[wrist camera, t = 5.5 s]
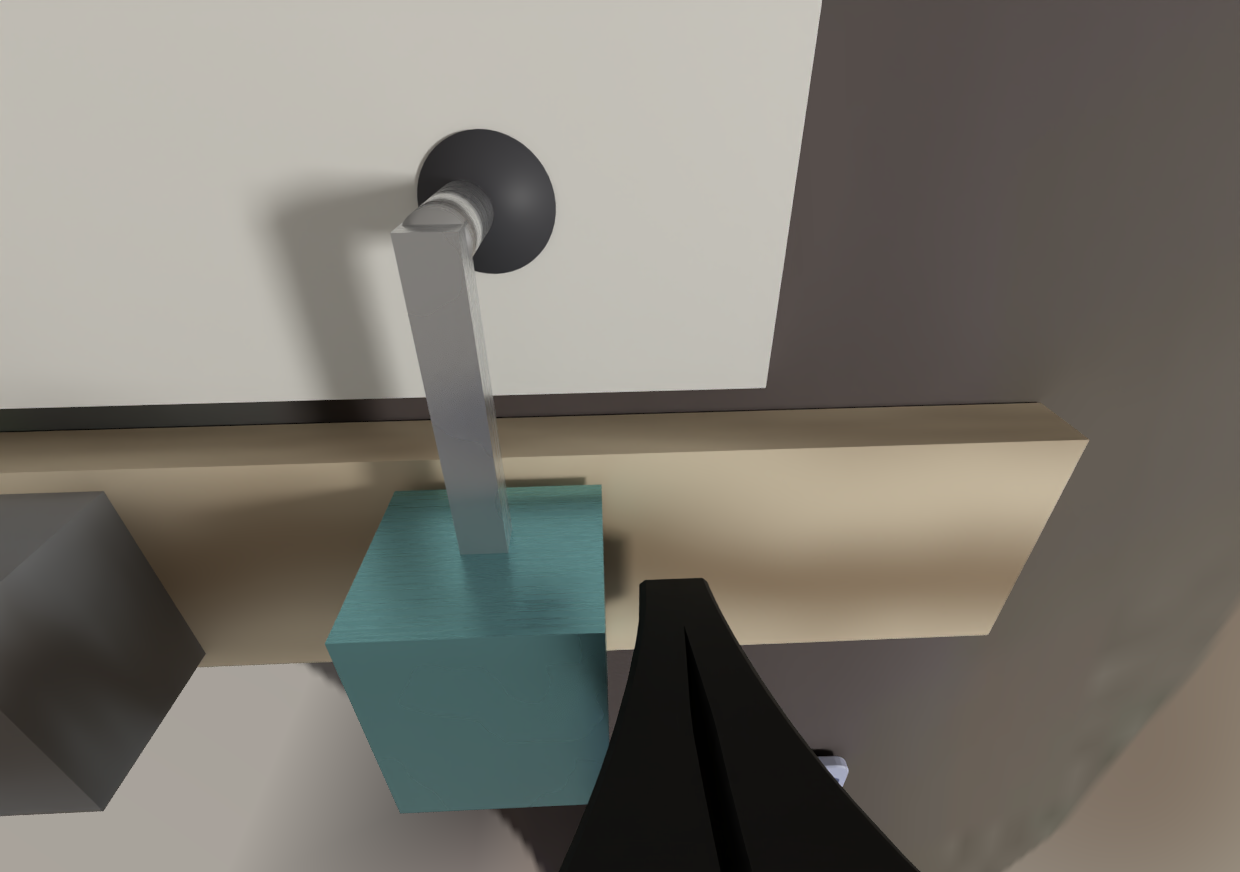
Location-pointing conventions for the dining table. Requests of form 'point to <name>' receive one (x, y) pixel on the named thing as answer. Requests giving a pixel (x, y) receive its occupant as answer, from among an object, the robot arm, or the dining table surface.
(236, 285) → the bolt plate
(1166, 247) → the dining table surface
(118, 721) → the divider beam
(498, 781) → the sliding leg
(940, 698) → the dining table surface
